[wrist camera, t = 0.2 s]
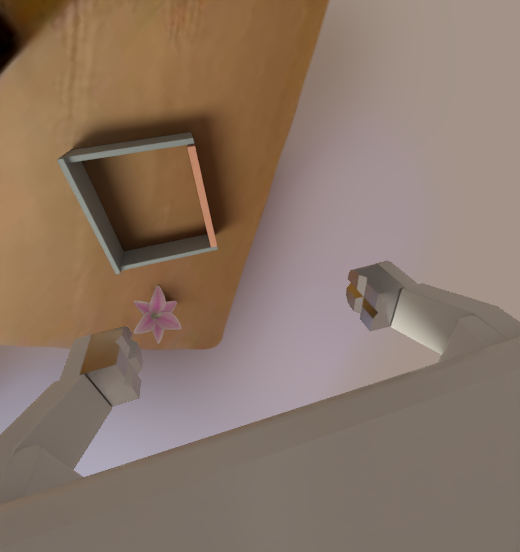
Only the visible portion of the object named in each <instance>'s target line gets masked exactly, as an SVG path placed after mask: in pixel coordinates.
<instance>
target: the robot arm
mask: <svg viewBox="0 0 520 552" xmlns="http://www.w3.org/2000/svg"><path fill="white" fill-rule="evenodd" d="M348 280H349V281H350V282H351V283H350V285H349V286H348V287H347V291H346V296H347V300H348V303H349V305H350V307H351V308H352V309H353V311H355V312H357V313H360V320H361V321H362V322H363V323H364V324H365V326H366V327H367V328H368V329H369V331H373V330H377V329H381V328H385V327H389V326H391V327H392V328H393V329H396V330H397V331H399V332H401V333H403V334H405V335H406V336H409V337H410V338H412V339H414V340H415V341H417V342H419V343H421V344H423V345H425V346H427V347H428V348H430V349H432V350H434V351H436V352H438V353H439V354H441V357H440V359H439V361H438V363H435V364H432V365H429V366H426V367H423V368H420V369H417V370H414V371H411V372H408V373H405V374H401V375H398V376H396V377H392V378H389V379H387V380H383V381H380V382H377V383H374V384H371V385H368V386H364V387H362V388H358V389H355V390H352V391H349V392H346V393H343V394H340V395H337V396H334V397H331V398H327V399H324V400H321V401H318V402H316V403H312V404H309V405H306V406H303V407H300V408H297V409H293V410H291V411H288V412H284V413H281V414H278V415H275V416H272V417H269V418H266V419H263V420H260V421H257V422H253V423H250V424H247V425H244V426H241V427H238V428H235V429H232V430H229V431H226V432H222V433H220V434H217V435H213V436H210V437H207V438H204V439H201V440H198V441H195V442H192V443H188V444H185V445H182V446H179V447H176V448H173V449H170V450H167V451H164V452H161V453H158V454H154V455H151V456H148V457H145V458H142V459H139V460H136V461H133V462H130V463H127V464H124V465H121V466H117V467H114V468H111V469H108V470H105V471H102V472H99V473H96V474H93V475H90V476H86V477H83V476H81V475H80V474H79V473H77V472H76V471H74V468H75V467H76V465H77V463H78V462H79V460H80V458H81V457H82V455H83V454H84V452H85V451H86V449H87V448H88V446H89V444H90V443H91V441H92V439H93V438H94V437H95V435H96V433H97V432H98V430H99V429H100V427H101V426H102V424H103V422H104V421H105V419H106V417H107V416H108V414H109V413H110V411H111V410H112V407H113V406H116V405H120V404H123V403H126V402H129V401H132V400H135V399H139V395H140V386H141V380H140V378H139V376H138V374H139V372H140V371H141V370H142V364H143V360H142V353H141V350H140V347H139V345H138V343H137V342H135V341H133V340H131V339H132V333H131V331H130V329H129V328H128V327H126V326H124V327H120V328H115V329H111V330H107V331H102V332H98V333H94V334H90V335H86V336H81V337H78V338H77V339H75V340H74V342H73V345H72V348H71V350H70V353H69V356H68V359H67V361H66V364H65V366H64V369H63V372H62V375H61V377H60V380H59V381H56V382H54V383H53V384H51V385H50V386H49V388H47V389H46V390H45V391H44V392H43V393H42V394H41V395H40V396H39V397H38V398H37V399H36V400H35V401H34V402H33V403H32V404H31V405H30V406H29V407H28V408H27V409H26V410H25V411H24V412H23V413H22V414H21V415H20V416H19V417H18V418H17V419H16V420H15V421H14V422H13V423H12V424H11V425H10V426H9V427H8V428H7V429H6V430H5V431H4V432H3V433H2V434H1V435H0V552H520V322H519V321H518V320H516V319H515V318H513V317H512V316H510V315H509V314H508V313H506V312H504V311H503V310H502V309H500V308H499V307H497V306H494V305H491V304H488V303H485V302H481V301H478V300H475V299H472V298H468V297H465V296H462V295H459V294H455V293H452V292H449V291H445V290H442V289H439V288H436V287H432V286H429V285H426V284H423V283H422V284H417V283H416V282H415V281H414V280H412V279H411V278H410V277H409V276H408V275H406V274H405V273H404V272H403V271H401V270H400V269H399V268H398V267H396V266H395V265H394V264H392V262H390V261H384V262H380V263H376V264H374V265H369V266H366V267H362V268H358V269H354V270H351V271H350V272H349V275H348Z"/></svg>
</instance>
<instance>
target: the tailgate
mask: <svg viewBox="0 0 520 552" xmlns="http://www.w3.org/2000/svg"><path fill="white" fill-rule="evenodd" d="M187 148H188V153H189V157H190V161H191V165H192V170H193V174H194V178H195V182H196V187H197V191H198V195H199V199H200V204H201V208H202V212H203V216H204V221H205V225H206V229H207V233H208V237H209V241H210V245H211V247H216V246H217V244H216V239H215V235H214V230H213V226H212V221H211V217H210V212H209V207H208V203H207V198H206V194H205V189H204V185H203V180H202V175H201V171H200V166H199V162H198V157H197V153H196V148H195V145H194V144H188V145H187Z"/></svg>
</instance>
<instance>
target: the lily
mask: <svg viewBox="0 0 520 552" xmlns="http://www.w3.org/2000/svg"><path fill="white" fill-rule="evenodd" d="M134 304H135V305H136V307H137V308H138V309H139V311H140V312H141V313H142V314H143V317H142V318H141V320H140V322H139V323H138V325H137V326H136V328H135V330H134V334H141V333H146V332H150V331H153V334H154V337H155V339H156V341H157V343H158V344H159V343H160V341H161V339H162V336H163V332H164V329H169V330H180V329H182V326H181V324H180V323H179V321H178V320H177V318H176V317H175V316H174V315H173V314H172V312H173V310H174V308H175V306H176V304H177V302H176V301H170V302H166V300H165V296H164V294H163V291H162V289H161V288H160V286H158V285H157V286H156V288H155V290H154V293H153V296H152V298H151V301H150V303H148V302H143V301H134Z"/></svg>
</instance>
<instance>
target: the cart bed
mask: <svg viewBox="0 0 520 552" xmlns="http://www.w3.org/2000/svg"><path fill="white" fill-rule="evenodd" d="M188 144H194V139H193V136H192V134H191V132H188V133H182V134H175V135H168V136H161V137H154V138H148V139H141V140H134V141H127V142H121V143H114V144H107V145H100V146H94V147H87V148H80V149H73V150H70V151H69V152H67V153H66V154H64V155H63V156H62V157H60V158H59V159H57V161H58V163H59V165H60V167H61V169H62V170H63V172H64V174H65V176H66V178H67V180H68V182H69V184H70V186H71V188H72V190H73V192H74V194H75V196H76V198H77V200H78V201H79V203H80V205H81V207H82V209H83V211H84V213H85V215H86V217H87V219H88V221H89V223H90V225H91V227H92V229H93V231H94V232H95V234H96V236H97V238H98V240H99V242H100V244H101V246H102V248H103V250H104V252H105V254H106V256H107V258H108V260H109V262H110V263H111V265H112V267H113V269H114V271H115V273H116V274H120V273H121V270H126V269H130V268H135V267H139V266H144V265H148V264H153V263H158V262H162V261H167V260H171V259H176V258H181V257H185V256H190V255H194V254H199V253H204V252H208V251H213V250H217V246H216V247H211V245H210V241H209V237H208V234H205V235H200V236H196V237H191V238H186V239H181V240H176V241H172V242H167V243H162V244H157V245H152V246H148V247H143V248H138V249H133V250H128V251H123V249H122V247H121V245H120V243H119V240H118V238H117V236H116V234H115V232H114V230H113V227H112V225H111V223H110V221H109V219H108V217H107V215H106V212H105V210H104V208H103V206H102V204H101V202H100V200H99V197H98V195H97V193H96V191H95V189H94V187H93V185H92V182H91V180H90V178H89V176H88V174H87V172H86V170H85V167H84V165H83V163H82V161H84V160H91V159H97V158H104V157H110V156H116V155H123V154H129V153H136V152H142V151H149V150H155V149H162V148H168V147H175V146H181V145H188Z"/></svg>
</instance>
